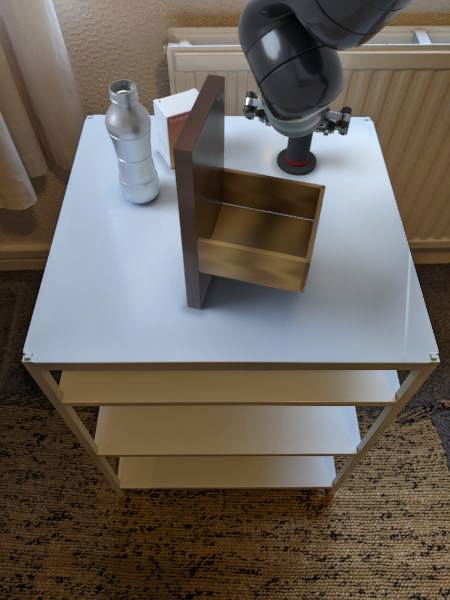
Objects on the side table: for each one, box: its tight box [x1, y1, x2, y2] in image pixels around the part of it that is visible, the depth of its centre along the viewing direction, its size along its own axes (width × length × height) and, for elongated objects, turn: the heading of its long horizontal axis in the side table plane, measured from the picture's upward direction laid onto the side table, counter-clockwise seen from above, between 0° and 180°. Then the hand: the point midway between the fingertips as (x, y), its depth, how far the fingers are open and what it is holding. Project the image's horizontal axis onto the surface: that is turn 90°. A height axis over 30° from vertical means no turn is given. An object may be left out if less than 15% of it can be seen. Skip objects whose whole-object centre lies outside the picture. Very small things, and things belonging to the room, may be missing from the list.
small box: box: [152, 87, 200, 169], centre depth 87 cm, size 8×6×10 cm
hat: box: [276, 132, 317, 176], centre depth 87 cm, size 7×7×8 cm
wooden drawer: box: [173, 73, 327, 310], centre depth 63 cm, size 16×13×28 cm
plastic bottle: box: [104, 78, 161, 205], centre depth 77 cm, size 6×7×20 cm
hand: (298, 123), depth 74 cm, fingers open, 8 cm apart
